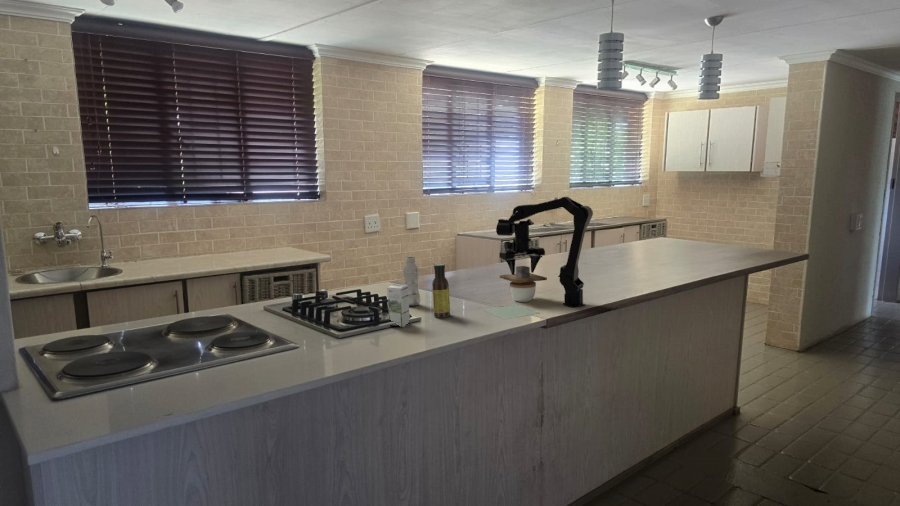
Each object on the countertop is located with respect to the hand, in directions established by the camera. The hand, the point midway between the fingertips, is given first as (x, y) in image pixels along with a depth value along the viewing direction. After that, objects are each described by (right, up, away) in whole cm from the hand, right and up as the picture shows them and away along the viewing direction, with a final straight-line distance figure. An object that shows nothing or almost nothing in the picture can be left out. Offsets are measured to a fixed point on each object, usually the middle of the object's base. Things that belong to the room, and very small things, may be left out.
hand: (522, 273), depth 237 cm
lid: (0, -2, 0) cm, 2 cm away
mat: (-6, -14, -17) cm, 23 cm away
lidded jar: (0, -12, +2) cm, 12 cm away
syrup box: (-48, -18, -29) cm, 59 cm away
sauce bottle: (-33, -16, -19) cm, 41 cm away
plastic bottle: (-45, -13, +1) cm, 47 cm away
